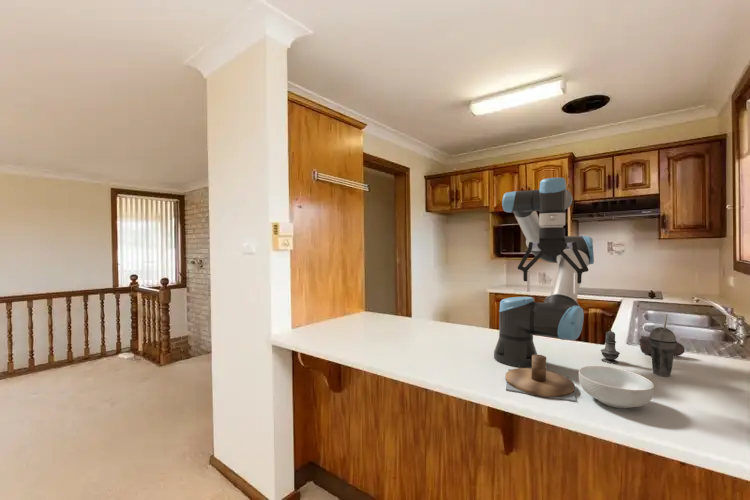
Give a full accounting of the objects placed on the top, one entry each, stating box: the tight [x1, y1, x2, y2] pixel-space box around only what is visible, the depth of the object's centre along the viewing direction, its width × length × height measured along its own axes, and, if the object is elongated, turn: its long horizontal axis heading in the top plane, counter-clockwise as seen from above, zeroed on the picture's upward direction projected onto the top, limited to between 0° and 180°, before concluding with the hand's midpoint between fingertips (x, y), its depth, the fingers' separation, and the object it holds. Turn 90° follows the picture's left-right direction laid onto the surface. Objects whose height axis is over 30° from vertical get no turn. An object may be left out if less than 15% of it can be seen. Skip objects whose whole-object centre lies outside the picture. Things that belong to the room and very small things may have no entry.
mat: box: [505, 368, 577, 403], centre depth 107 cm, size 18×18×1 cm
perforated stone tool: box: [638, 335, 686, 357], centre depth 136 cm, size 15×5×7 cm, turn 69°
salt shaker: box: [600, 328, 620, 365], centre depth 128 cm, size 6×6×12 cm
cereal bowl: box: [578, 365, 655, 409], centre depth 95 cm, size 17×17×7 cm
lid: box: [504, 354, 575, 398], centre depth 107 cm, size 19×19×8 cm
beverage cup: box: [648, 314, 678, 378], centre depth 116 cm, size 7×7×20 cm
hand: (551, 292), depth 113 cm, fingers open, 13 cm apart
